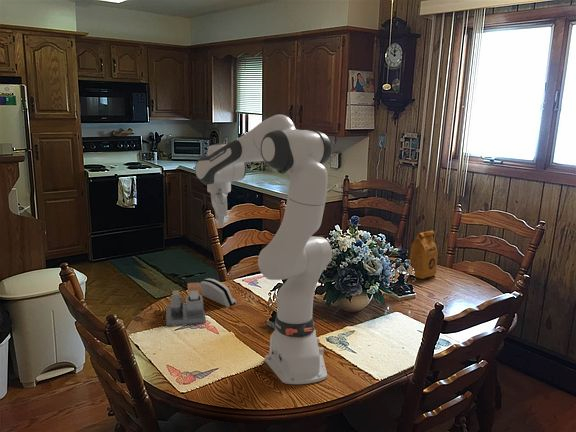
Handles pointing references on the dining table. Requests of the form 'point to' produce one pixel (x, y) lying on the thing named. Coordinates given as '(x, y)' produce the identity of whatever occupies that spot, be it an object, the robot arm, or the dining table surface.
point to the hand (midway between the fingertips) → (219, 222)
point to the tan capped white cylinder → (193, 291)
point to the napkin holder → (217, 292)
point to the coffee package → (424, 255)
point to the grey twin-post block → (184, 310)
